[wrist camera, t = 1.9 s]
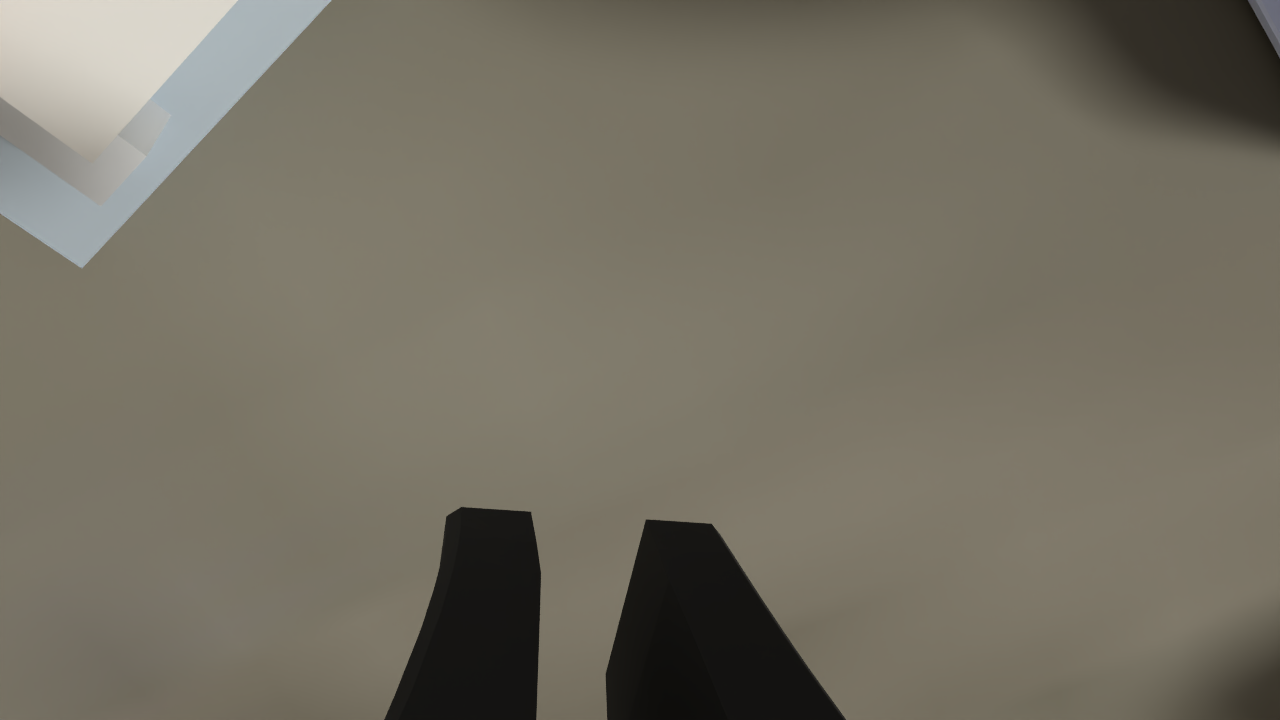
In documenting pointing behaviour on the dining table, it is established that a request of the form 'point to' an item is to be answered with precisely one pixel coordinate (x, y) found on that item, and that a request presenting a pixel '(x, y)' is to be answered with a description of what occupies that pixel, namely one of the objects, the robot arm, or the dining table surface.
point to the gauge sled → (95, 60)
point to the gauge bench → (139, 134)
